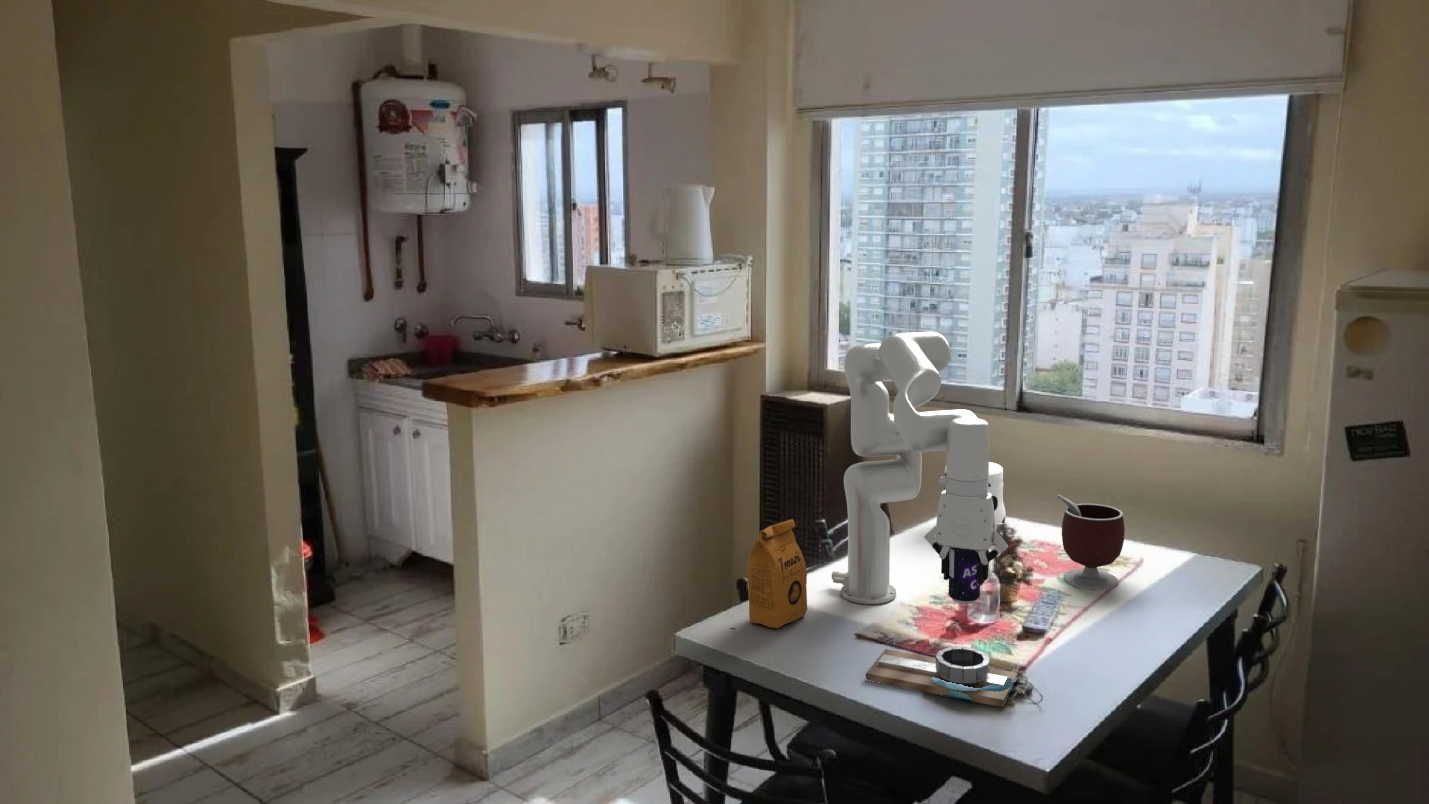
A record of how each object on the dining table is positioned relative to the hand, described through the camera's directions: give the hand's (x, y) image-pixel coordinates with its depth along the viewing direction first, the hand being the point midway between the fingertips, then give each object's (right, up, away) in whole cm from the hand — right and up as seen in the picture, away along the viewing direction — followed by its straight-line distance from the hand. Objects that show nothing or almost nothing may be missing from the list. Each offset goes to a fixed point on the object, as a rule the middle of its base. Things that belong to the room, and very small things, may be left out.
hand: (964, 579), depth 196 cm
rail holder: (-3, -19, +5) cm, 20 cm away
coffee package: (-32, -15, +36) cm, 51 cm away
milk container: (+24, -3, +94) cm, 97 cm away
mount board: (-3, -20, +6) cm, 21 cm away
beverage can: (0, -4, +1) cm, 4 cm away
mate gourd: (+42, -10, +56) cm, 70 cm away
